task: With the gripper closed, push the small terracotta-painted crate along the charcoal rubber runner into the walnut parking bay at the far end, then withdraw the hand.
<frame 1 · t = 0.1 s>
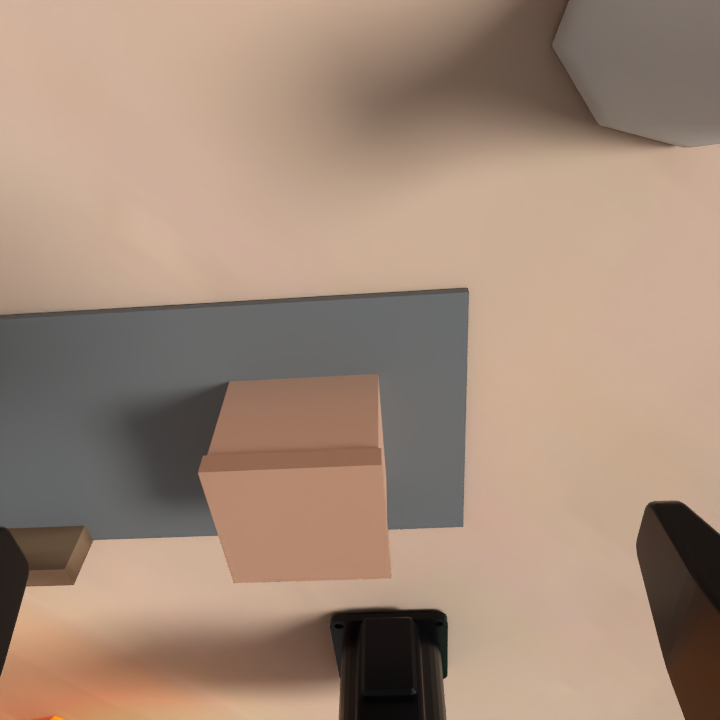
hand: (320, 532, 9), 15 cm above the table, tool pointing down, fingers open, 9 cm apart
crate: (312, 433, 27), resting on runner mat
flask: (685, 9, 18), on the table
runner mat: (99, 438, 28), on the table
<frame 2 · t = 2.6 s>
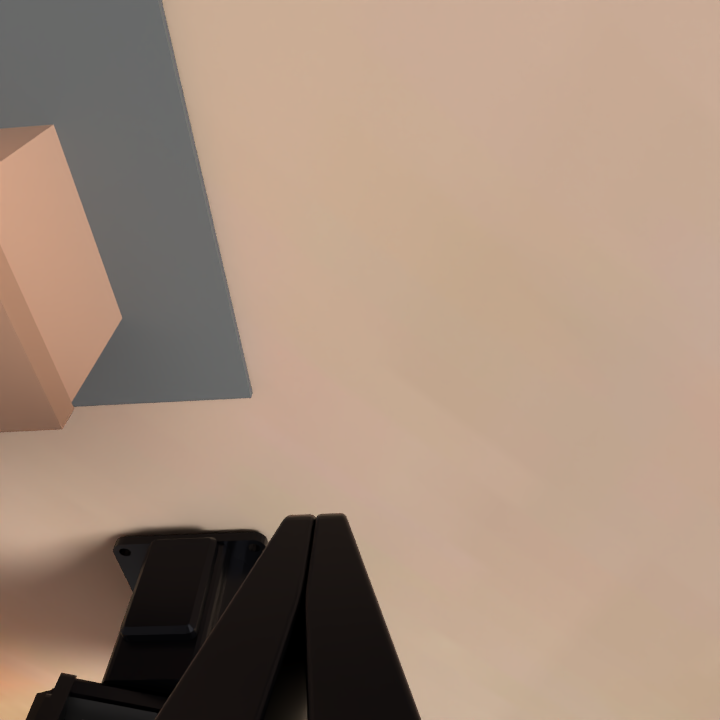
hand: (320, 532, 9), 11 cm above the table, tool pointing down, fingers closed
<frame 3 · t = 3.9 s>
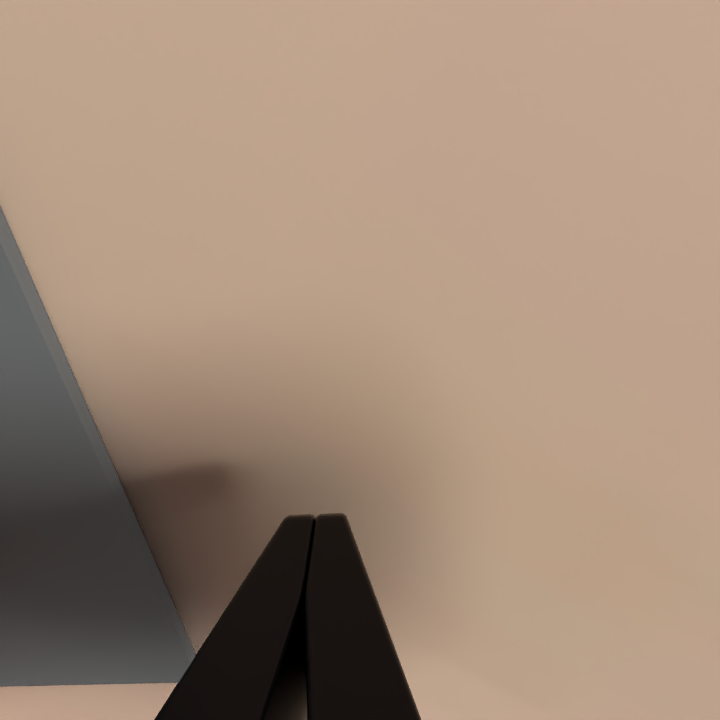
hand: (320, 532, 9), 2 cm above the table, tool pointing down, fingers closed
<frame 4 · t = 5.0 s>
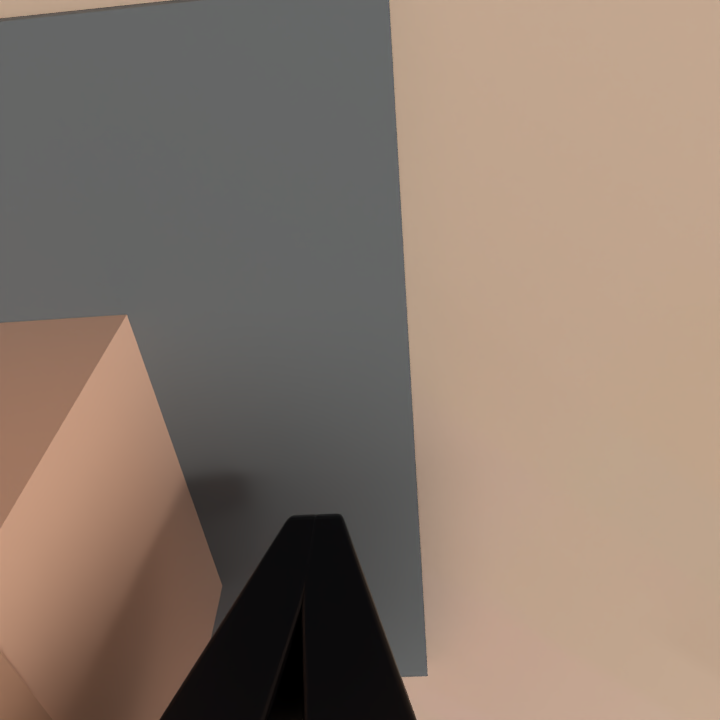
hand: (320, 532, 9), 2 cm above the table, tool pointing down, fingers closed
crate: (2, 482, 10), resting on runner mat, touching gripper
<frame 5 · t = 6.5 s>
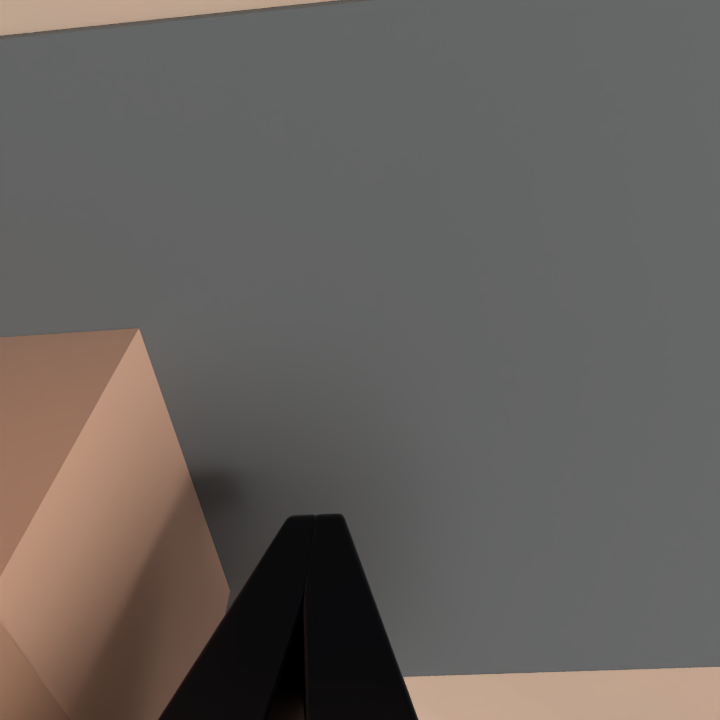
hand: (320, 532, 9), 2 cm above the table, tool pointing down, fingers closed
crate: (17, 490, 11), resting on runner mat, touching gripper
runner mat: (104, 467, 11), on the table
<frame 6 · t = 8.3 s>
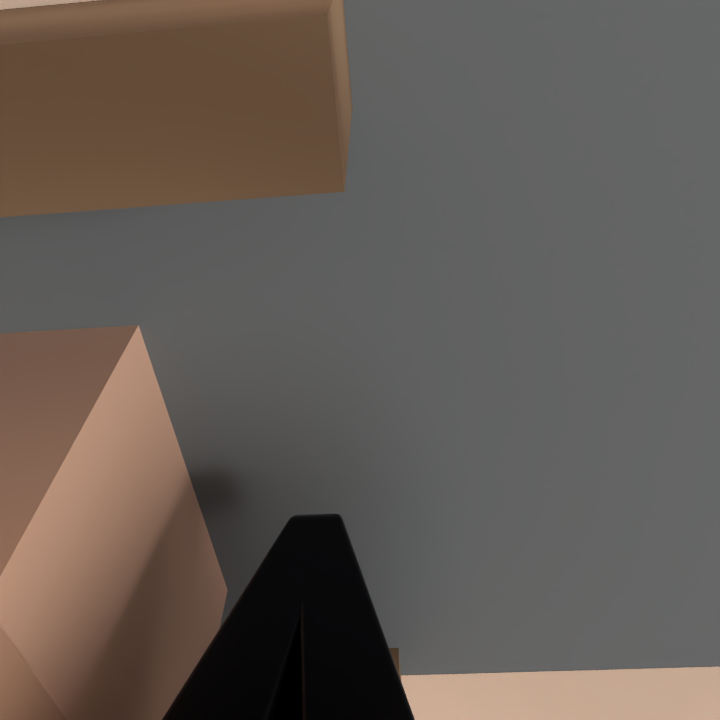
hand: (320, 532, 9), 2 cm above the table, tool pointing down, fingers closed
crate: (12, 488, 10), resting on runner mat, touching gripper
runner mat: (532, 441, 10), on the table
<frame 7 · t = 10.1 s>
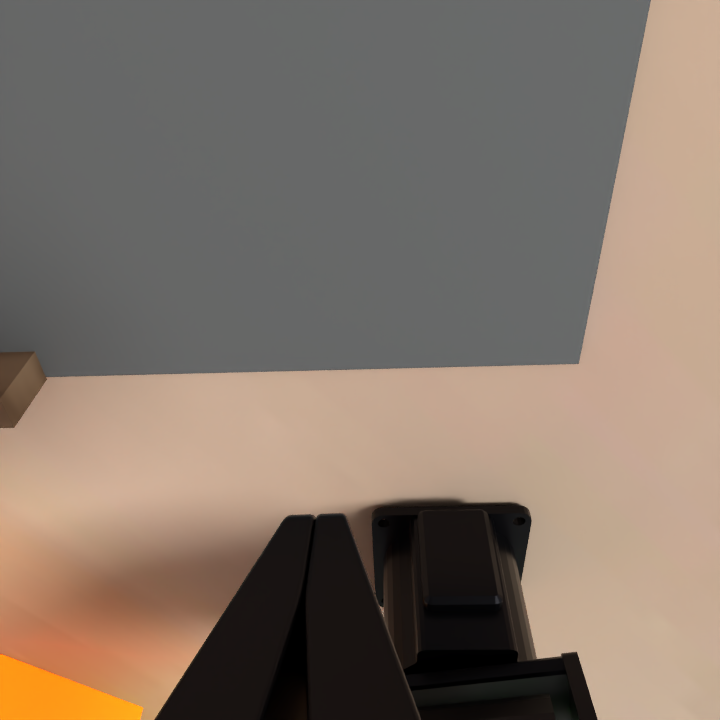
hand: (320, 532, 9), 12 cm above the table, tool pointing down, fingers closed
orange juice: (47, 701, 38), on the table
runner mat: (55, 192, 18), on the table
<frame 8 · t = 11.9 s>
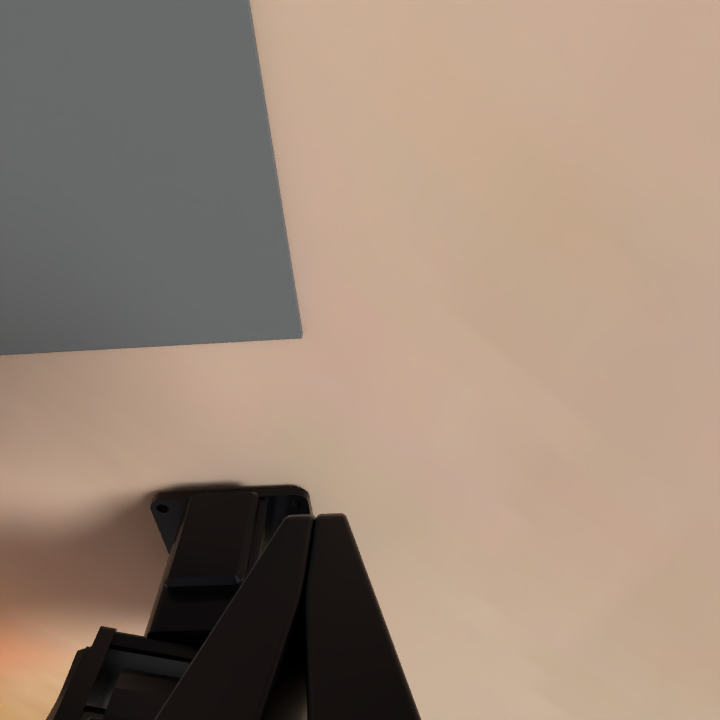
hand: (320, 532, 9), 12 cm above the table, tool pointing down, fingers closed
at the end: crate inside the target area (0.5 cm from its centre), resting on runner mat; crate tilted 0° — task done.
